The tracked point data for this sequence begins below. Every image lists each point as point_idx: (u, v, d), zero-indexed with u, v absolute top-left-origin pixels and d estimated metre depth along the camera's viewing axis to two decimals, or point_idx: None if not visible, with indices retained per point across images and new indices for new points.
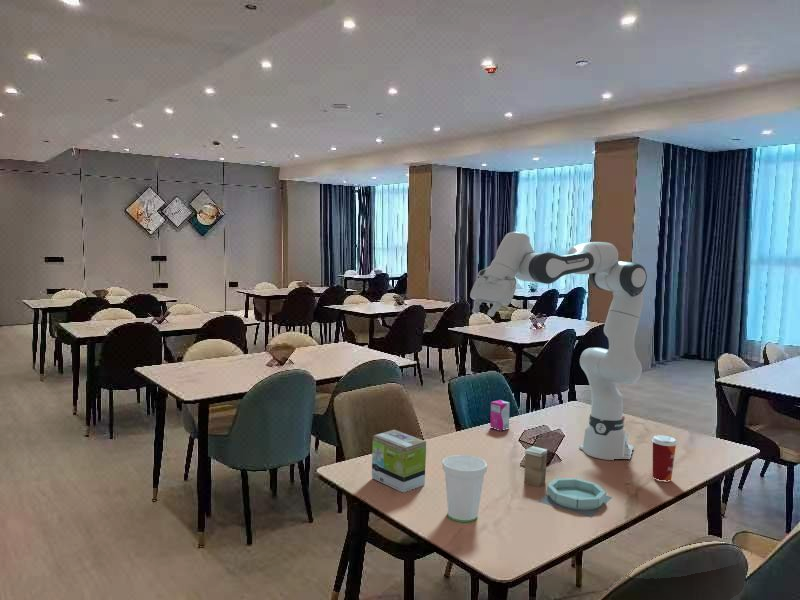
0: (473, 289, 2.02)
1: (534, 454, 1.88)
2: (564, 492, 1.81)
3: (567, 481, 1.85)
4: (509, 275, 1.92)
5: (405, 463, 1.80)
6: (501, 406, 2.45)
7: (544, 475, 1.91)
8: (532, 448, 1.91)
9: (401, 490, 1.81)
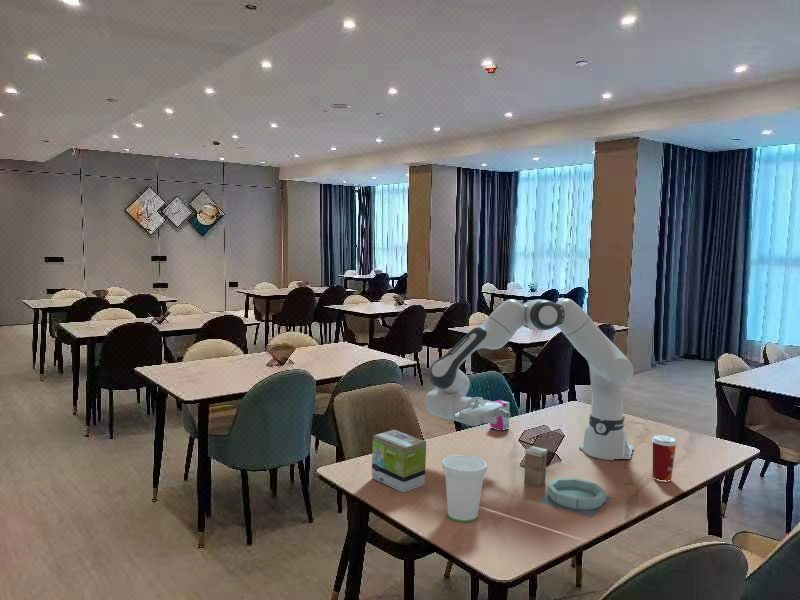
0: None
1: (534, 454, 1.88)
2: (564, 492, 1.81)
3: (567, 481, 1.85)
4: (458, 410, 2.02)
5: (405, 463, 1.80)
6: None
7: (544, 475, 1.91)
8: (532, 448, 1.91)
9: (401, 490, 1.81)
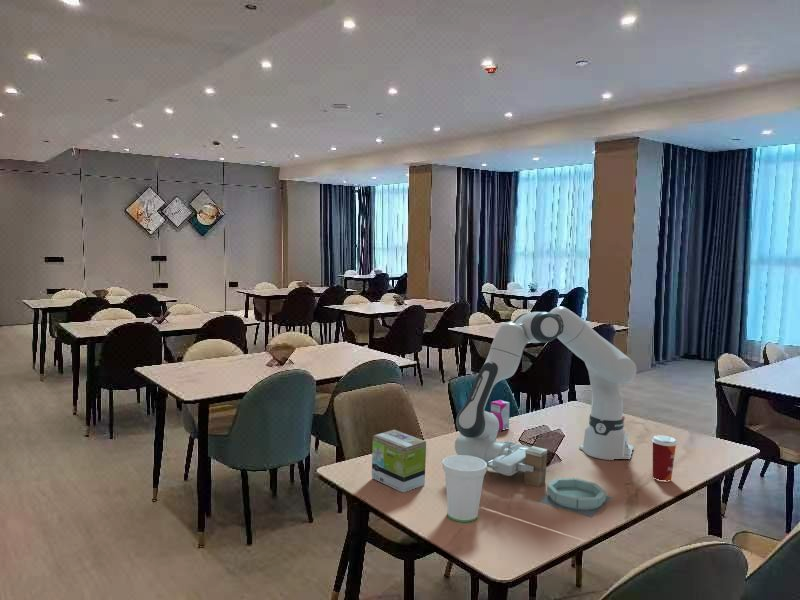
0: None
1: (534, 454, 1.88)
2: (564, 492, 1.81)
3: (567, 481, 1.85)
4: (490, 457, 1.95)
5: (405, 463, 1.80)
6: (501, 406, 2.45)
7: (544, 475, 1.91)
8: (532, 448, 1.91)
9: (401, 490, 1.81)
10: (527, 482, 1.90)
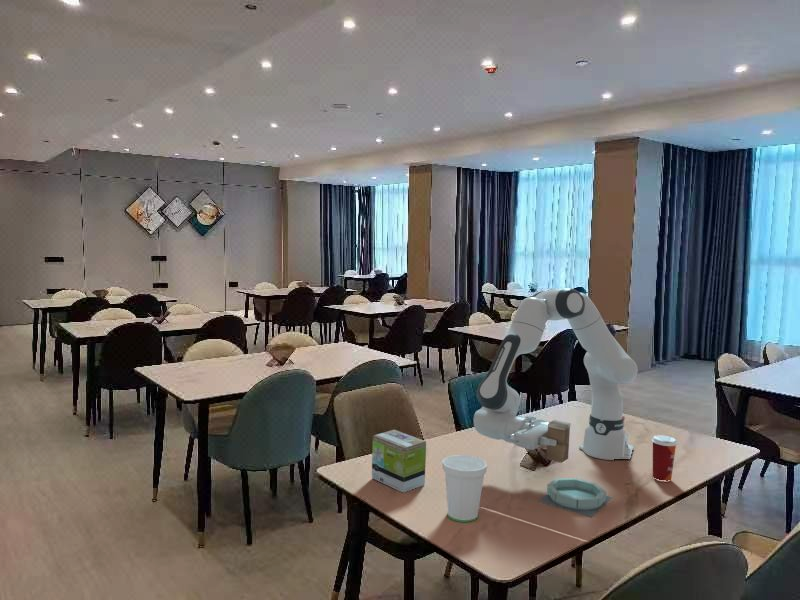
0: None
1: (557, 427, 1.81)
2: (564, 492, 1.81)
3: (567, 481, 1.85)
4: (511, 431, 1.88)
5: (405, 463, 1.80)
6: None
7: (567, 450, 1.83)
8: (554, 422, 1.84)
9: (401, 490, 1.81)
10: (549, 457, 1.83)
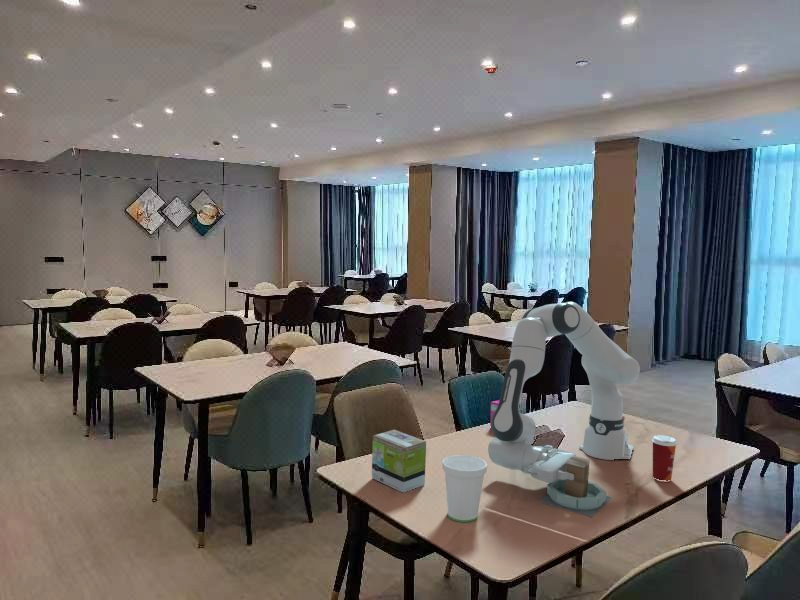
0: None
1: (577, 464, 1.76)
2: (564, 492, 1.81)
3: None
4: (528, 462, 1.83)
5: (405, 463, 1.80)
6: None
7: (586, 487, 1.78)
8: (574, 458, 1.79)
9: (401, 490, 1.81)
10: (568, 494, 1.78)
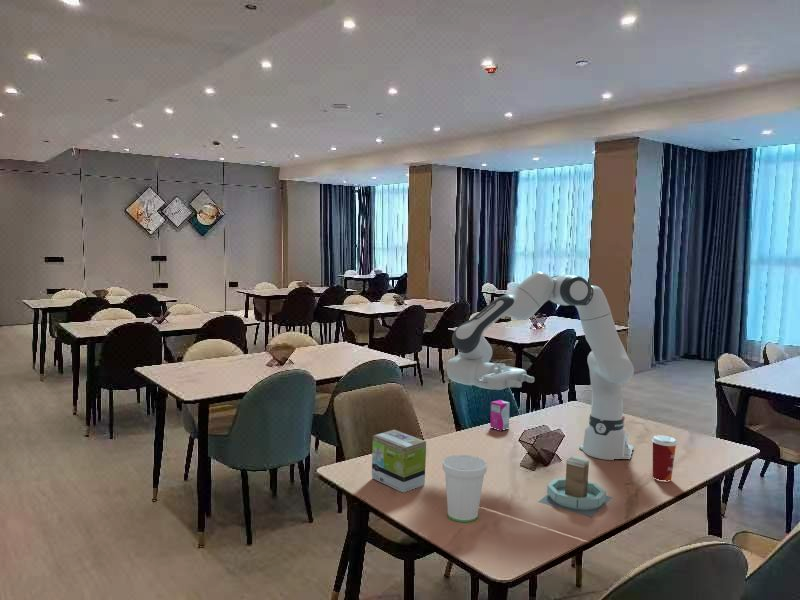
0: None
1: (576, 464, 1.76)
2: (564, 492, 1.81)
3: None
4: (481, 375, 1.98)
5: (405, 463, 1.80)
6: (501, 406, 2.45)
7: (586, 487, 1.78)
8: (573, 458, 1.79)
9: (401, 490, 1.81)
10: (568, 494, 1.78)
